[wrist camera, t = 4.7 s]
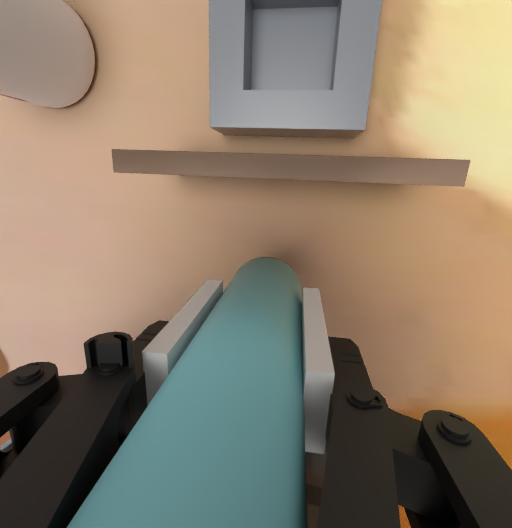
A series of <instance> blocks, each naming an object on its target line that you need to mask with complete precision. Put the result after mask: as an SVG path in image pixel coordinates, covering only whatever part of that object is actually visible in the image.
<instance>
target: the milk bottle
mask: <svg viewBox="0 0 512 528" xmlns="http://www.w3.org/2000/svg"><path fill="white" fill-rule="evenodd" d="M94 69H95V53H94V49H93V44H92V40H91V38H90V35H89V33H88V30H87V29H86V27H85V25H84V23H83V21H82V20H81V18H80V17H79V16H78V14H77V13H76V12H75V11H74V10H73V9H72V8H71V7H70V6H69V5H68V4H67V3H65V2H64V1H63V0H0V95H4V96H7V97H11V98H14V99H18V100H22V101H26V102H29V103H33V104H37V105H41V106H45V107H50V108H62V107H66V106H69V105H71V104H73V103H76V102H77V101H78V100H79V99H81V98H82V97H83V96H84V94H85V93H86V92H87V91H88V89H89V87H90V85H91V83H92V79H93V76H94Z"/></svg>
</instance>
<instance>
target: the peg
mask: <svg viewBox="0 0 512 528" xmlns="http://www.w3.org/2000/svg"><path fill="white" fill-rule="evenodd" d="M301 304H302V289H301V283H300V280H299V278H298V276H297V274H296V272H295V271H294V270H293V269H292V268H291V267H290V266H289V265H288V264H286V263H285V262H283V261H281V260H279V259H275V258H270V257H261V258H256V259H253V260H250V261H249V262H247V263H245V264H244V265H243V266H242V267H241V268H240V269H239V270H238V272H237V273H236V275H235V276H234V278H233V279H232V281H231V282H230V284H229V285H228V287H227V288H226V290H225V291H224V293H223V294H222V296H221V297H220V299H219V300H218V302H217V303H216V305H215V306H214V308H213V309H212V311H211V312H210V314H209V315H208V317H207V318H206V320H205V321H204V323H203V324H202V326H201V327H200V329H199V330H198V332H197V333H196V335H195V336H194V338H193V339H192V341H191V342H190V344H189V345H188V347H187V348H186V350H185V351H184V353H183V354H182V356H181V357H180V359H179V360H178V362H177V363H176V365H175V366H174V368H173V369H172V371H171V372H170V374H169V375H168V376H167V378H166V379H165V381H164V382H163V384H162V385H161V387H160V388H159V390H158V391H157V393H156V394H155V396H154V397H153V399H152V400H151V402H150V403H149V405H148V406H147V408H146V409H145V411H144V412H143V414H142V415H141V417H140V418H139V420H138V421H137V423H136V424H135V426H134V427H133V429H132V430H131V432H130V433H129V435H128V436H127V438H126V439H125V441H124V442H123V444H122V445H121V447H120V448H119V450H118V451H117V453H116V454H115V456H114V457H113V459H112V460H111V462H110V463H109V465H108V466H107V468H106V469H105V471H104V472H103V474H102V475H101V477H100V478H99V480H98V481H97V483H96V484H95V486H94V487H93V489H92V490H91V492H90V493H89V495H88V496H87V498H86V499H85V501H84V502H83V504H82V505H81V507H80V508H79V510H78V511H77V513H76V514H75V516H74V517H73V519H72V520H71V522H70V523H69V525H68V526H67V528H307V500H306V458H305V416H304V399H303V356H302V306H301Z"/></svg>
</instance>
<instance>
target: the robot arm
mask: <svg viewBox="0 0 512 528" xmlns="http://www.w3.org/2000/svg"><path fill="white" fill-rule="evenodd" d="M222 294H223V280H211V279H208V280H207V281H206V282H205V283H204V284H203V285H202V286H201V287H200V289H199V290H198V291H197V292H196V293H195V294H194V295H193V296H192V297H191V298H190V299H189V301H188V302H187V303H186V304H185V305H184V306H183V307H182V308H181V309H180V310H179V312H178V313H177V314H176V315H175V316H174V317H173V318H172V319H171V320H170V321H161V320H160V321H158V322H156V323H154V324H152V325H150V326H148V327H147V328H146V329H145V330H144V331H143V332H142V334H140V335H139V336H138V337H137V338H136V340H134V341H133V340H132V337H131V336H130V335H129V334H126V333H123V332H108V333H104V334H100V335H97V336H94V337H92V338H90V339H89V340H87V341H86V342H85V343H84V349H85V356H86V364H87V369H86V370H85V371H84V373H83V374H77V375H66V376H59V375H58V369H57V367H56V365H55V364H53V363H50V362H35V363H30V364H27V365H24V366H21V367H19V368H17V369H15V370H13V371H11V372H9V373H7V374H6V375H4V376H3V377H1V378H0V437H1V436H3V435H4V434H5V433H6V432H7V431H9V432H10V436H11V439H10V440H8V441H7V442H6V443H4V444H3V445H2V446H0V528H67V526H68V525H69V523H70V522H71V520H72V519H73V517H74V516H75V514H76V513H77V511H78V510H79V508H80V507H81V505H82V504H83V502H84V501H85V499H86V498H87V496H88V495H89V493H90V492H91V490H92V489H93V487H94V486H95V484H96V483H97V481H98V480H99V478H100V477H101V475H102V474H103V472H104V471H105V469H106V468H107V466H108V465H109V463H110V462H111V460H112V459H113V457H114V456H115V454H116V453H117V451H118V450H119V448H120V447H121V445H122V444H123V442H124V441H125V439H126V438H127V436H128V435H129V433H130V432H131V430H132V429H133V427H134V426H135V424H136V423H137V421H138V420H139V418H140V417H141V415H142V414H143V412H144V411H145V409H146V408H147V406H148V405H149V403H150V402H151V400H152V399H153V397H154V396H155V394H156V393H157V391H158V390H159V388H160V387H161V385H162V384H163V382H164V381H165V379H166V378H167V376H168V375H169V374H170V372H171V371H172V369H173V368H174V366H175V365H176V363H177V362H178V360H179V359H180V357H181V356H182V354H183V353H184V351H185V350H186V348H187V347H188V345H189V344H190V342H191V341H192V339H193V338H194V336H195V335H196V333H197V332H198V330H199V329H200V327H201V326H202V324H203V323H204V321H205V320H206V318H207V317H208V315H209V314H210V312H211V311H212V309H213V308H214V306H215V305H216V303H217V302H218V300H219V299H220V297H221V296H222ZM301 306H302V356H303V399H304V416H305V458H306V500H307V528H400V518H399V508H398V504H399V505H401V506H403V507H404V508H405V512H406V515H407V517H408V520H409V523H410V526H411V528H512V470H511V469H510V467H509V466H508V465H507V464H506V462H505V461H504V460H503V458H502V457H501V456H500V455H499V453H498V452H497V451H496V449H495V448H494V447H493V446H492V444H491V443H490V442H489V440H488V439H487V438H486V436H485V435H484V434H483V433H482V432H481V431H480V430H479V429H478V428H477V427H476V426H475V425H474V424H472V423H471V422H469V421H468V420H466V419H465V418H463V417H460V416H458V415H456V414H454V413H451V412H447V411H442V410H431V411H429V412H427V413H425V414H424V416H423V419H422V421H419V420H416V419H413V418H411V417H408V416H405V415H402V414H400V413H398V412H395V411H393V410H392V409H390V408H388V405H387V403H386V400H385V398H384V397H383V396H382V395H381V394H380V393H379V392H377V391H376V390H374V389H373V387H372V385H371V382H370V379H369V376H368V373H367V370H366V368H365V365H364V362H363V359H362V357H361V354H360V351H359V348H358V346H357V345H356V344H355V343H354V342H353V341H352V340H350V339H346V338H336V337H328V334H327V329H326V323H325V318H324V313H323V307H322V302H321V296H320V291H319V288H307V287H303V293H302V304H301Z"/></svg>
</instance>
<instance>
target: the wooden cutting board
mask: <svg viewBox="0 0 512 528" xmlns="http://www.w3.org/2000/svg"><path fill="white" fill-rule="evenodd" d="M112 158H113V169H114V172H118V173H142V174H167V175H192V176H216V177H241V178H265V179H290V180H315V181H339V182H364V183H389V184H413V185H438V186H462V187H464V185H465V181H466V177H467V172H468V168H469V164H470V160H454V159H421V158H387V157H354V156H321V155H288V154H255V153H221V152H188V151H155V150H122V149H112Z"/></svg>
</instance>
